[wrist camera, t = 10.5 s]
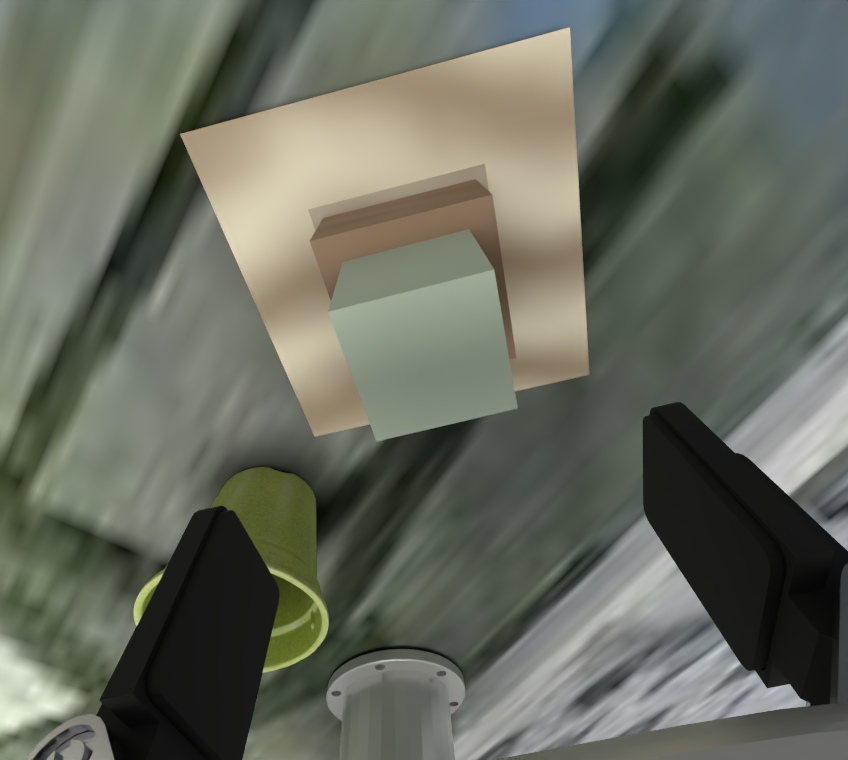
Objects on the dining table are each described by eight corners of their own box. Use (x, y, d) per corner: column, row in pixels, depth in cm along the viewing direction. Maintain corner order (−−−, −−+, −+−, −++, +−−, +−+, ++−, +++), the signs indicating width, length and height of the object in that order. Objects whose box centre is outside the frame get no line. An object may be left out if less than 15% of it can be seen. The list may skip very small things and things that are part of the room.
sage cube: (491, 343, 20) (517, 408, 16) (379, 370, 21) (376, 441, 16) (469, 229, 18) (494, 269, 14) (342, 262, 18) (328, 311, 14)
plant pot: (294, 422, 28) (259, 537, 21) (366, 521, 33) (359, 644, 25) (164, 475, 30) (89, 601, 22) (251, 563, 34) (213, 692, 27)
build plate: (581, 364, 27) (589, 375, 26) (317, 424, 28) (314, 437, 27) (560, 31, 19) (570, 27, 18) (190, 132, 20) (179, 134, 19)
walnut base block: (498, 321, 24) (516, 358, 21) (367, 352, 25) (363, 393, 21) (475, 179, 21) (492, 194, 17) (322, 218, 21) (309, 241, 18)
